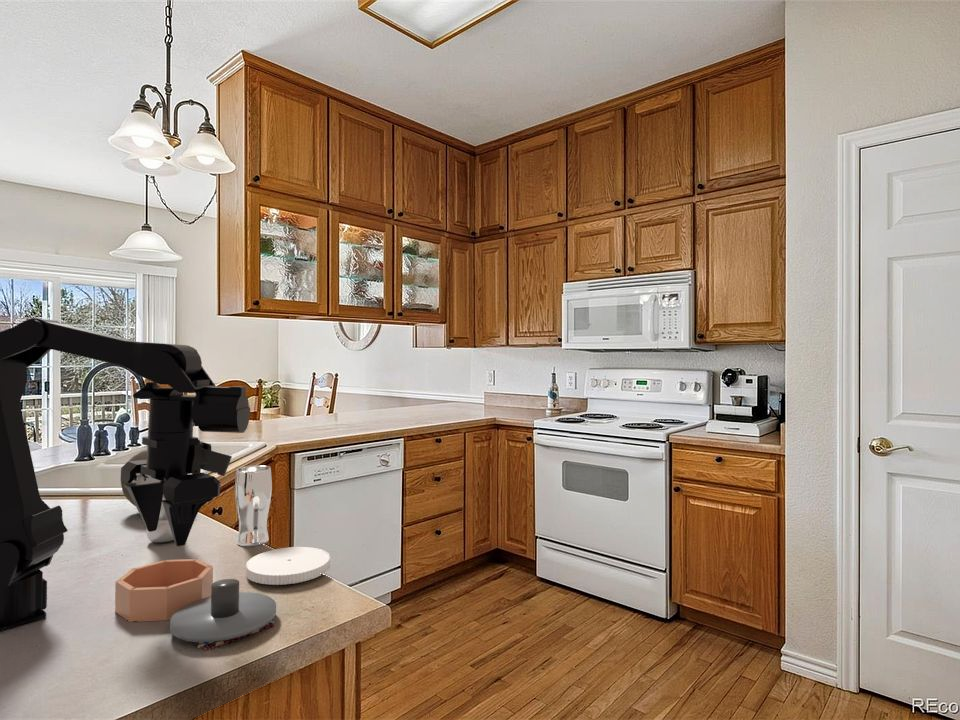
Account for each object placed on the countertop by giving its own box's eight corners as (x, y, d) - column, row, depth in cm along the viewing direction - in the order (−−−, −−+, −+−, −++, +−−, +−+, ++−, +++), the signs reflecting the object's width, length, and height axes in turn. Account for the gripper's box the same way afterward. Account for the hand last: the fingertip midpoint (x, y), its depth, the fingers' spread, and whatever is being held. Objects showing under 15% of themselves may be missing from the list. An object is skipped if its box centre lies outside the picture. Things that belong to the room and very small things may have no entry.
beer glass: (259, 534, 120) (260, 463, 120) (277, 541, 115) (278, 468, 115) (227, 542, 114) (228, 468, 114) (245, 550, 110) (246, 473, 110)
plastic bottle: (188, 540, 115) (189, 443, 115) (151, 548, 110) (153, 446, 110) (177, 533, 119) (178, 439, 119) (141, 541, 114) (142, 442, 114)
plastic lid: (230, 575, 98) (230, 561, 98) (301, 554, 108) (301, 541, 108) (273, 598, 89) (273, 582, 89) (346, 573, 100) (346, 559, 100)
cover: (204, 653, 70) (204, 614, 70) (150, 622, 77) (151, 587, 77) (296, 613, 81) (296, 580, 81) (241, 590, 88) (241, 559, 88)
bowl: (140, 629, 77) (140, 596, 77) (105, 605, 85) (106, 575, 85) (224, 600, 87) (224, 571, 87) (186, 580, 94) (187, 554, 94)
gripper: (257, 433, 82) (252, 540, 82) (196, 420, 93) (191, 514, 93) (178, 440, 73) (173, 559, 73) (121, 425, 85) (116, 528, 85)
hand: (165, 538), depth 81 cm, fingers open, 9 cm apart
